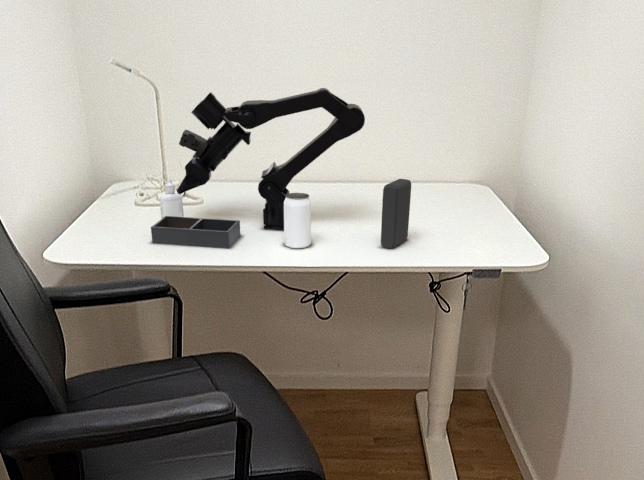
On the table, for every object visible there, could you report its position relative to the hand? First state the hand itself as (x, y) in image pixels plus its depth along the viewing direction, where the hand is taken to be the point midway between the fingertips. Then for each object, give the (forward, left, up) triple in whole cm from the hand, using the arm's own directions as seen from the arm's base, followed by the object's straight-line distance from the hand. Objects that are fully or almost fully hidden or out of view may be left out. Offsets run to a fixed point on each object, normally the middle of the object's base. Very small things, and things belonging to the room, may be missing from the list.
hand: (181, 187), depth 188 cm
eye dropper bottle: (+3, +1, -10) cm, 10 cm away
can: (-32, +9, -10) cm, 35 cm away
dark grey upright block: (-55, +3, -10) cm, 56 cm away
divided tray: (-7, +10, -10) cm, 16 cm away
